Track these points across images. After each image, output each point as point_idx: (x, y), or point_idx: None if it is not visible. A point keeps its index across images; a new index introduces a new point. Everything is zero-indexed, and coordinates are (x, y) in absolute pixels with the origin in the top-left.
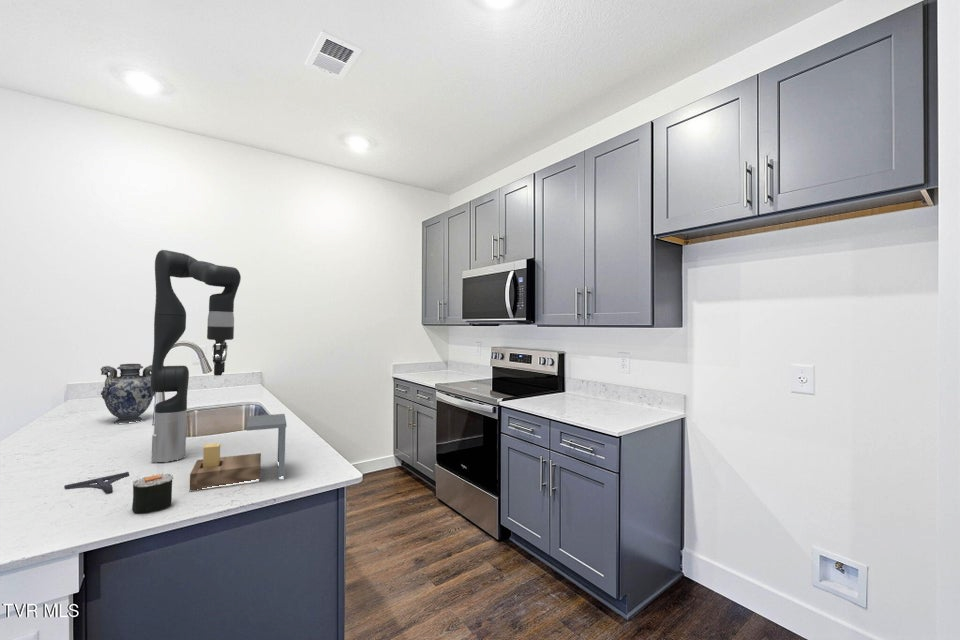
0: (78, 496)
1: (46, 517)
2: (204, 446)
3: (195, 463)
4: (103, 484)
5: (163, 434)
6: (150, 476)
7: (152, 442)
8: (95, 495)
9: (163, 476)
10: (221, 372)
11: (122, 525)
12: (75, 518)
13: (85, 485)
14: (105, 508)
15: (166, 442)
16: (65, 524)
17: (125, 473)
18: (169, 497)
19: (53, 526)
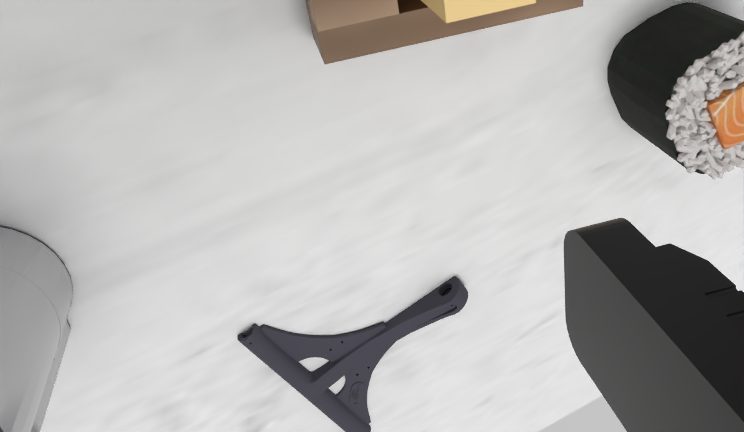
0: (455, 354)
1: None
2: (506, 7)
3: (397, 47)
4: (378, 343)
5: (37, 393)
6: (722, 130)
7: (47, 405)
8: (462, 313)
9: (719, 81)
10: (653, 249)
11: None
12: None
13: (356, 393)
14: (608, 218)
15: (43, 344)
16: None
17: (259, 340)
18: (720, 13)
19: None
